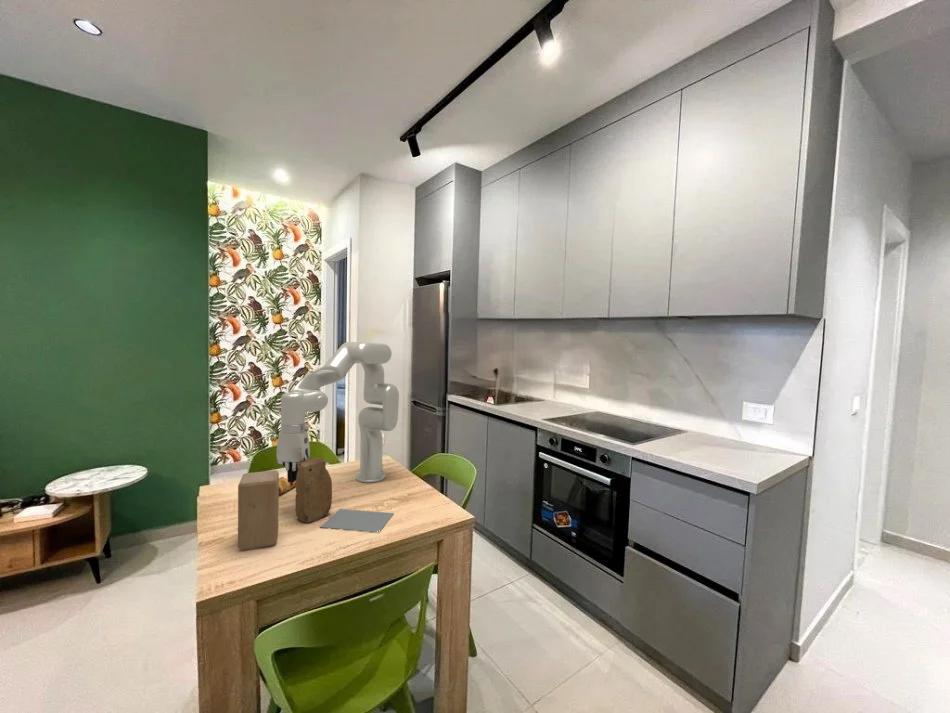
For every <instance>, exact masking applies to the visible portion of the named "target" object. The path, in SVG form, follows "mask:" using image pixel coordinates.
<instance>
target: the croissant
mask: <svg viewBox="0 0 950 713" xmlns="http://www.w3.org/2000/svg"><path fill="white" fill-rule="evenodd" d="M291 488H292V489H293V488H296V481H294V482H293V483H292V482H288V478H287V477H284V476H281V477H279V494H281V495H283V494H285V493H287V492H288V491H287V490H289V491H290V490H292V489H291ZM282 493H283V494H282Z"/></svg>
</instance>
